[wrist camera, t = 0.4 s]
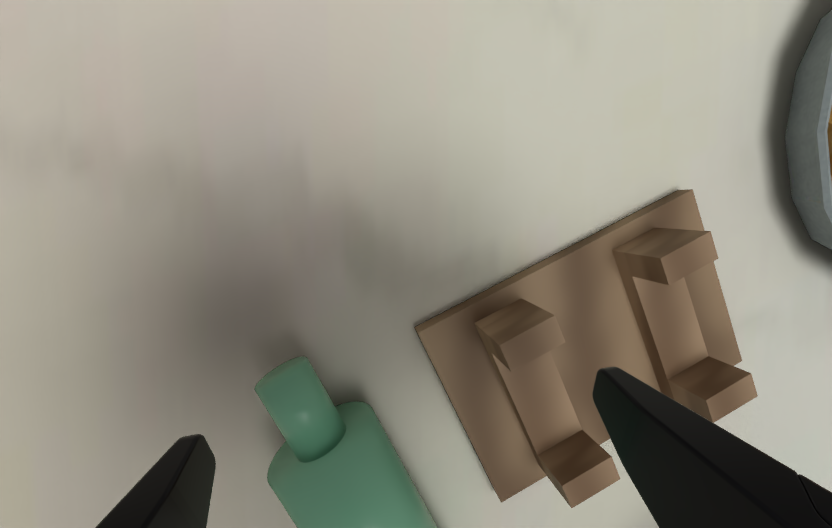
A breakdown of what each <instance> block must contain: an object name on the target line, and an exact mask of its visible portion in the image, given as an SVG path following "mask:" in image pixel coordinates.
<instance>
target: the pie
mask: <svg viewBox="0 0 832 528" xmlns="http://www.w3.org/2000/svg"><path fill="white" fill-rule="evenodd" d="M785 143H786V152H787V161H788V170H789V178H790V187H791V196H792V200H793V202H794V204H795V206H796V208H797V210H798V212H799V214H800V217H801V219H802V221H803V223H804V225H805V227H806V229H807V231H808V233H809V236H810V238H811V239H812V240H814V241H816V242H818V243H820V244H821V245H823V246H825V247H827V248H829V249H831V250H832V10H831V11H830V12H828V13H827V14H826V15H825V16H824V17H823V18H821V19H820V22H819V24H818V26H817V28H816V30H815V32H814V35H813V37H812V39H811V41H810V43H809V45H808V48H807V50H806V52H805V54H804V56H803V59H802V61H801V63H800V65H799V67H798V69H797V71H796V76H795V81H794V87H793V93H792V99H791V105H790V111H789V117H788V123H787V128H786V134H785Z"/></svg>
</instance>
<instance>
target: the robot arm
mask: <svg viewBox="0 0 832 528" xmlns="http://www.w3.org/2000/svg"><path fill="white" fill-rule="evenodd" d="M592 397H593V401H594V404H595V406H596V408H597V410H598V412H599V415H600V417H601V419H602V421H603V423H604V425H605V428H606V430H607V432H608V434H609V436H610V438H611V441H612V443H613V445H614V447H615V449H616V451H617V454H618V456H619V458H620V460H621V462H622V464H623V466H624V467H625V469H626V471H627V473H628V475H629V476H630V478H631V480H632V482H633V483H634V485H635V487H636V488H637V490H638V492H639V494H640V495H641V497H642V499H643V500H644V502H645V504H646V506H647V507H648V509H649V511H650V512H651V514H652V516H653V517H654V519H655V521H656V523H657V524H658V526H659V528H832V492H830V491H828V490H827V489H825V488H823V487H821V486H820V485H818V484H816V483H815V482H813V481H811V480H809V479H808V478H806V477H804V476H803V475H798V474H797V473H796V472H795V471H794V470H792V469H791V468H789V467H787V466H785V465H784V464H782V463H780V462H779V461H777V460H775V459H773V458H772V457H770V456H768V455H767V454H765V453H763V452H762V451H760V450H758V449H756V448H755V447H753V446H751V445H750V444H748V443H746V442H745V441H743V440H741V439H739V438H738V437H736V436H734V435H733V434H731V433H729V432H728V431H726V430H724V429H722V428H721V427H719V426H717V425H716V424H714V423H712V422H711V421H709V420H707V419H705V418H704V417H702V416H700V415H699V414H697V413H695V412H693V411H692V410H690V409H688V408H687V407H685V406H683V405H682V404H680V403H678V402H676V401H675V400H673V399H671V398H670V397H668V396H666V395H665V394H663V393H661V392H659V391H658V390H656V389H654V388H653V387H651V386H649V385H648V384H646V383H644V382H642V381H641V380H639V379H637V378H636V377H634V376H632V375H631V374H629V373H627V372H625V371H624V370H622V369H620V368H618V367H615V366H613V367H606V368H601V369H599V370H598V371H597V374H596V378H595V383H594V387H593V392H592ZM215 465H216V463H215V457H214V455H213V453H212V451H211V449H210V447H209V445H208V443H207V441H206V439H205V438H204V436H203V435H201V434H196V435H190V436H185V437H182V438H180V439H179V440H177V441H176V442H175V443H174V445H173V446H172V447H171V448H170V449H169V450H168V451H167V452H166V453H165V454H164V455H163V456H162V457H161V458H160V459H159V460H158V462H157V463H156V464H155V465H154V466H153V467H152V468H151V469H150V470H149V471H148V472H147V473H146V474H145V475H144V476H143V478H142V479H141V480H140V481H139V482H138V483H137V484H136V485H135V486H134V487H133V488H132V489H131V490H130V491H129V492H128V493H127V495H126V496H125V497H124V498H123V499H122V500H121V501H120V502H119V503H118V504H117V505H116V506H115V507H114V508H113V509H112V510H111V512H110V513H109V514H108V515H107V516H106V517H105V518H104V519H103V520H102V521H101V522H100V523H99V524H98V525H97V526H96V528H206V525H207V518H208V512H209V506H210V499H211V493H212V486H213V480H214V474H215Z"/></svg>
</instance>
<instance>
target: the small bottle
mask: <svg viewBox="0 0 832 528" xmlns="http://www.w3.org/2000/svg"><path fill="white" fill-rule="evenodd" d="M255 391H256V393H257V394H258V396H259V398H260V399H261V401H262V402H263V404H264V406H265V407H266V409H267V411H268V412H269V414H270V415H271V417H272V419H273V420H274V422H275V423H276V425H277V427H278V428H279V430H280V431H281V433H282V435H283V436H284V438H285V440H286V442H285V443H284V444H283V445H282V447H281V448H280V449H279V450H278V452H277V453H276V455H275V456H274V458H273V460H272V462H271V464H270V467H269V470H268V476H267V479H268V483H269V485H270V486H271V488H272V489H273V491H274V492H275V494H276V495H277V497H278V499H279V500H280V502H281V503H282V505H283V506H284V508H285V509H286V511H287V512H288V514H289V515H290V517H291V519H292V520H293V522H294V523H295V525H296V526H297V528H437V526H436V524H435V522H434V520H433V519H432V517H431V515H430V513H429V511H428V510H427V508H426V506H425V504H424V502H423V500H422V499H421V497H420V495H419V493H418V491H417V489H416V488H415V486H414V484H413V482H412V480H411V479H410V477H409V475H408V473H407V471H406V469H405V468H404V466H403V464H402V462H401V460H400V458H399V457H398V455H397V453H396V451H395V449H394V448H393V446H392V444H391V442H390V440H389V438H388V437H387V435H386V433H385V431H384V429H383V428H382V426H381V424H380V422H379V420H378V418H377V417H376V415H375V413H374V411H373V409H372V408H371V406H370V405H368V404H367V403H364V402H348V403H344V404H341V405H338V406H336V407H335V406H334V404H333V402H332V401H331V399H330V397H329V395H328V394H327V392H326V390H325V388H324V387H323V385H322V383H321V381H320V380H319V378H318V376H317V374H316V373H315V371H314V369H313V367H312V366H311V364H310V362H309V361H308V359H307V357H304V356H302V357H297V358H294V359H291V360H289V361H287V362H285V363H283V364H281V365H280V366H278V367H276V368H275V369H273V370H272V371H270V372H269V373H268V374H267V375H265V376H264V377H263V378H262V379H261V380H260V381H259V382H258V383H257V385H256V386H255Z"/></svg>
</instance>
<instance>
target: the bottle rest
mask: <svg viewBox="0 0 832 528" xmlns="http://www.w3.org/2000/svg"><path fill="white" fill-rule="evenodd" d="M716 259H718V256H717V252H716V249H715V245H714V242H713V238H712V235H711V231H704V227H703V224H702V221H701V217H700V214H699V210H698V207H697V203H696V200H695V196H694V193H693V190H677V191H676V192H674V193H672V194H670V195H668V196H666V197H664V198H662V199H660V200H658V201H656V202H654V203H653V204H651V205H649V206H647V207H645V208H643V209H641V210H639V211H637V212H635V213H633V214H631V215H629V216H628V217H626V218H624V219H622V220H620V221H618V222H616V223H614V224H612V225H610V226H608V227H606V228H604V229H603V230H601V231H599V232H597V233H595V234H593V235H591V236H589V237H587V238H585V239H583V240H581V241H579V242H578V243H576V244H574V245H572V246H570V247H568V248H566V249H564V250H562V251H560V252H558V253H556V254H554V255H553V256H551V257H549V258H547V259H545V260H543V261H541V262H539V263H537V264H535V265H533V266H531V267H530V268H528V269H526V270H524V271H522V272H520V273H518V274H516V275H514V276H512V277H510V278H508V279H506V280H505V281H503V282H501V283H499V284H497V285H495V286H493V287H491V288H489V289H487V290H485V291H483V292H481V293H480V294H478V295H476V296H474V297H472V298H470V299H468V300H466V301H464V302H462V303H460V304H458V305H456V306H455V307H453V308H451V309H449V310H447V311H445V312H443V313H441V314H439V315H437V316H435V317H433V318H431V319H430V320H428V321H426V322H424V323H422V324H420V325H418V326H416V327H414V328H415V330H416V332H417V334H418V336H419V338H420V340H421V342H422V344H423V346H424V348H425V350H426V352H427V354H428V356H429V358H430V360H431V362H432V364H433V366H434V368H435V370H436V372H437V374H438V376H439V378H440V380H441V382H442V384H443V386H444V388H445V390H446V392H447V394H448V397H449V399H450V401H451V403H452V405H453V407H454V409H455V411H456V413H457V415H458V417H459V419H460V421H461V423H462V425H463V427H464V429H465V431H466V433H467V435H468V437H469V439H470V441H471V443H472V445H473V447H474V449H475V451H476V453H477V455H478V457H479V459H480V461H481V463H482V465H483V468H484V470H485V472H486V474H487V476H488V478H489V480H490V482H491V484H492V486H493V488H494V490H495V492H496V494H497V495H498V497H499V499H500V501H501V502H503V501H505V500H506V499H508V498H510V497H511V496H513V495H515V494H517V493H518V492H520V491H522V490H523V489H525V488H527V487H528V486H530V485H532V484H534V483H535V482H537V481H539V480H540V479H542V478H544V477H545V476H547V477H548V478H549V479H550V480H551V482H552V483H553V484H554V486H555V487H556V488H557V490H558V491H559V492H560V494H561V495H562V496H563V497H564V499H565V500H566V501H567V503H568V504H569V505H570V507H571V508H573V507H575V506H576V505H578V504H580V503H581V502H583V501H585V500H586V499H588V498H590V497H591V496H593V495H595V494H596V493H598V492H600V491H601V490H603V489H605V488H606V487H608V486H610V485H611V484H613V483H614V482H616V481H618V480H619V479H620V477H619V474H618V472H617V469H616V467H615V464H614V462H613V459H612V457H611V456H610V455H609V454H608V453H607V452H606V451H605V450H604V449H603V448H602V447H601V446H599V445H600V444H602V443H603V442H605V441H607V440H608V439H610V436H609V434H608V432H607V430H606V428H605V425H604V423H603V421H602V419H601V417H600V415H599V412H598V410H597V408H596V406H595V404H594V401H593V397H592V392H593V387H594V383H595V378H596V374H597V371H598V370H599V369H601V368H606V367H613V366H615V367H618V368H620V369H622V370H624V371H625V372H627V373H629V374H631V375H632V376H634V377H636V378H637V379H639V380H641V381H642V382H644V383H646V384H648V385H649V386H651V387H653V388H654V389H656V390H658V391H659V392H661V393H663V394H665V395H666V396H668V397H670V398H671V399H673V400H675V401H677V402H678V403H680V404H682V405H683V406H685V407H687V408H689V409H690V410H692V411H694V412H695V413H697V414H699V415H701V416H702V417H704V418H706V419H707V420H709V421H711V422H713V423H714V422H715V421H717V420H719V419H720V418H722V417H724V416H725V415H727V414H729V413H730V412H732V411H734V410H735V409H737V408H739V407H740V406H742V405H744V404H745V403H747V402H749V401H750V400H752V399H754V398H755V397H757V392H756V389H755V385H754V382H753V378H752V375H751V373H749V372H746V371H744V370H741V369H739V368H736V367H734V365H736V364H737V363H739V362H741V361H742V359H741V355H740V352H739V348H738V345H737V342H736V338H735V335H734V331H733V328H732V324H731V321H730V317H729V314H728V310H727V307H726V303H725V300H724V297H723V293H722V290H721V286H720V283H719V279H718V276H717V272H716V269H715V265H714V262H713V261H714V260H716Z"/></svg>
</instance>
